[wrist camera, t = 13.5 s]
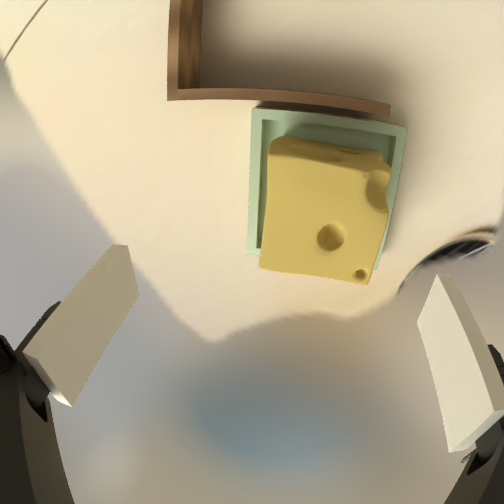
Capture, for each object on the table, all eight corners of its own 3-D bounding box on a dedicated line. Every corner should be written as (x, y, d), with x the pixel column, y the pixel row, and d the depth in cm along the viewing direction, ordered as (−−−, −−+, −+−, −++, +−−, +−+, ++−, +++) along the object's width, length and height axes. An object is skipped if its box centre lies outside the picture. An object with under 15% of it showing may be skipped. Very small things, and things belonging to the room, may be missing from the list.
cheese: (377, 148, 28) (406, 176, 20) (354, 240, 34) (368, 294, 25) (277, 130, 29) (265, 148, 21) (265, 225, 35) (251, 275, 26)
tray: (255, 107, 29) (251, 108, 27) (399, 125, 27) (407, 128, 25) (250, 244, 37) (247, 255, 35) (373, 257, 35) (377, 269, 33)
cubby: (195, -33, 21) (174, -52, 16) (379, -25, 19) (393, -45, 14) (190, 97, 29) (167, 100, 24) (373, 110, 27) (389, 116, 22)
